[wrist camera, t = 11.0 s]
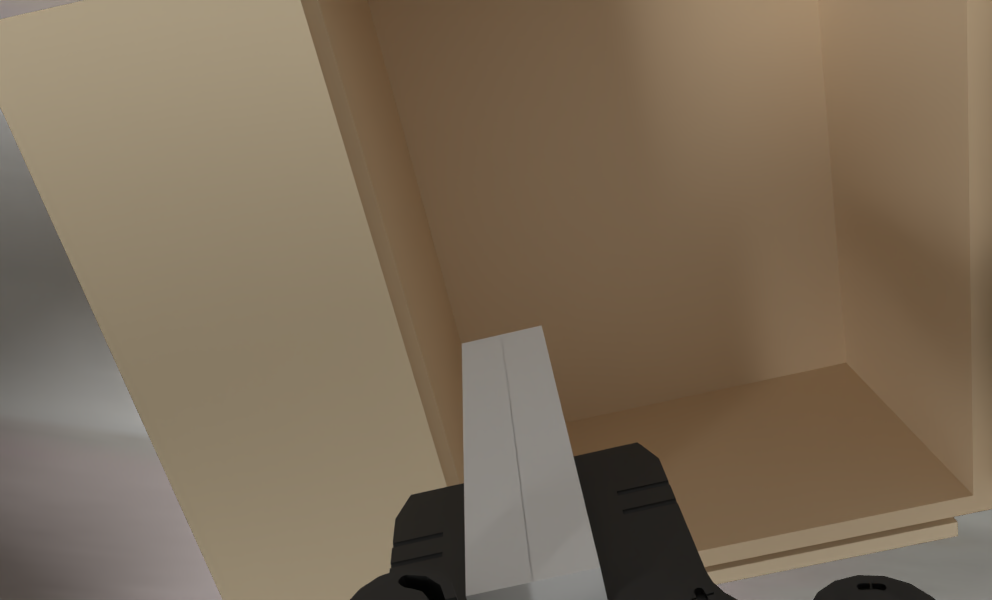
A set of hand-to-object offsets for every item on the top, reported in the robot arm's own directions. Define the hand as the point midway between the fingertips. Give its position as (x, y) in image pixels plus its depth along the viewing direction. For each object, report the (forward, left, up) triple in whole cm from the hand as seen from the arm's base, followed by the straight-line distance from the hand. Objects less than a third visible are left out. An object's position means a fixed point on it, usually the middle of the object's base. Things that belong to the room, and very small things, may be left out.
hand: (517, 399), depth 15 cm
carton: (+4, 0, -14) cm, 15 cm away
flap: (-3, 0, -5) cm, 6 cm away
